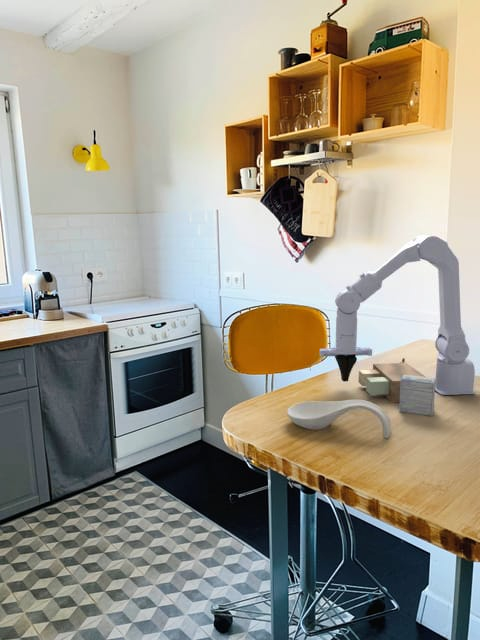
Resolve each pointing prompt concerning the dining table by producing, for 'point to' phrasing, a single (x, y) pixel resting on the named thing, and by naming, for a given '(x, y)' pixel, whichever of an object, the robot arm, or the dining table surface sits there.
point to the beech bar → (367, 375)
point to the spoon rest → (332, 413)
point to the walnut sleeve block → (395, 377)
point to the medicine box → (417, 395)
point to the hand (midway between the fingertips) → (344, 380)
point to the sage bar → (377, 385)
